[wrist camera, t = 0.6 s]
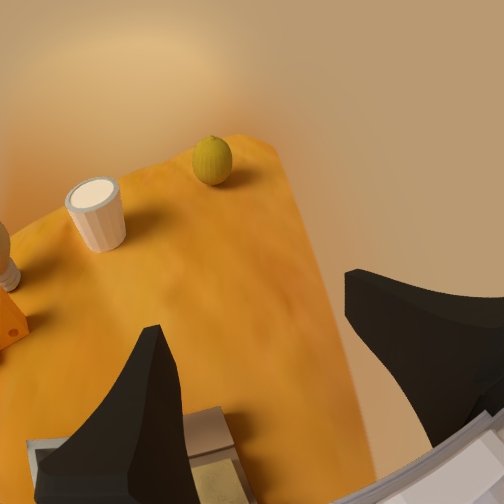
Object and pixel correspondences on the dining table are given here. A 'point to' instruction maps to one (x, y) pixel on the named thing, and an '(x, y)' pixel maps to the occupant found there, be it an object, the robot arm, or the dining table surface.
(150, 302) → the dining table surface
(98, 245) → the white cup
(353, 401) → the dining table surface
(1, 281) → the light bulb
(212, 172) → the lemon
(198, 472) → the brass chip
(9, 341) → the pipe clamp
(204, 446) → the slot board
